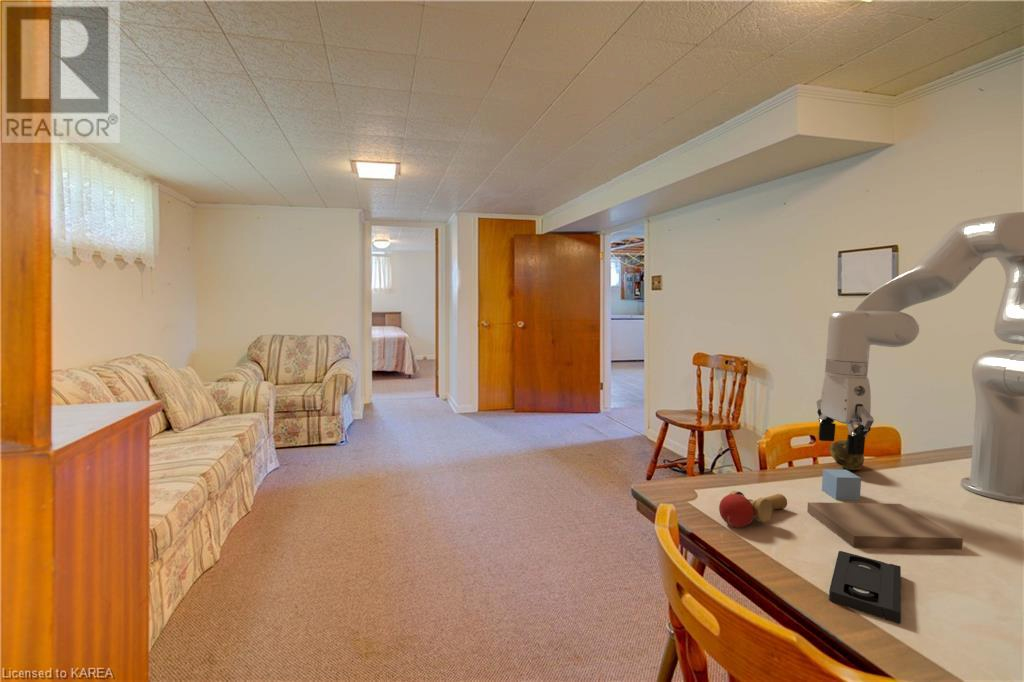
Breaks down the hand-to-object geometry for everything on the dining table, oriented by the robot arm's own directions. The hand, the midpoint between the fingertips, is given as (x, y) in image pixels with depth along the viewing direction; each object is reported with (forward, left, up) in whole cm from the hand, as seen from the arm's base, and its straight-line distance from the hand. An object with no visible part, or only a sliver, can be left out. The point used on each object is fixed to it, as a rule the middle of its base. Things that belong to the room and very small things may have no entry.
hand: (839, 447), depth 104 cm
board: (+2, +16, -11) cm, 19 cm away
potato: (-13, -17, -11) cm, 24 cm away
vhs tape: (+17, +35, -11) cm, 41 cm away
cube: (-1, 0, -11) cm, 11 cm away
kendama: (+23, +12, -11) cm, 28 cm away
